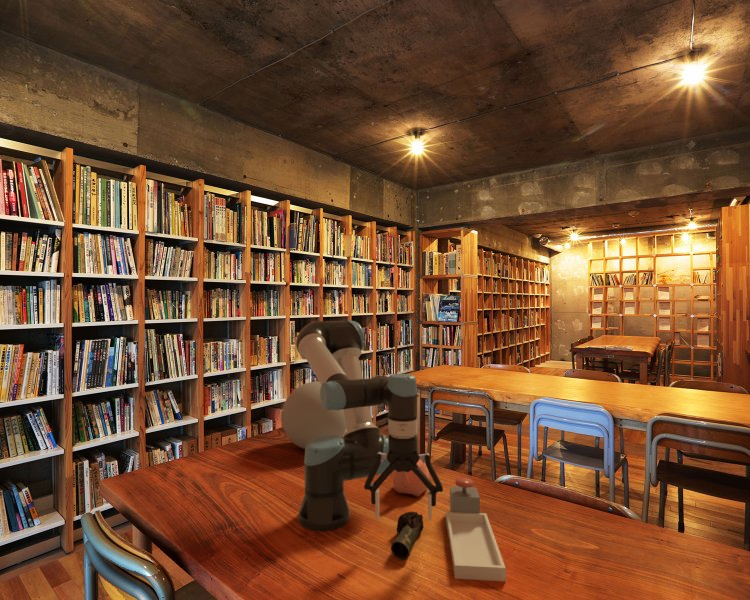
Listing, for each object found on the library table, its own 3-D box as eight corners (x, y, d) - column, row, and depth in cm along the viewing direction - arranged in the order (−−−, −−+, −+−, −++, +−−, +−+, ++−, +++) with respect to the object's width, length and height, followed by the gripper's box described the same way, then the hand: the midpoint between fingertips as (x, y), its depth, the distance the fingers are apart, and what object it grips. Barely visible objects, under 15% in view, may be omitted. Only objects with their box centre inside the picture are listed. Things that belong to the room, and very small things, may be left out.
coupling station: (454, 580, 98) (454, 532, 98) (444, 512, 130) (444, 475, 130) (505, 583, 97) (505, 534, 97) (482, 513, 129) (482, 477, 129)
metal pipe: (408, 562, 104) (409, 539, 104) (383, 556, 106) (383, 533, 106) (426, 529, 120) (426, 509, 120) (403, 524, 123) (404, 504, 123)
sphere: (271, 458, 177) (271, 387, 177) (296, 436, 206) (295, 375, 207) (340, 462, 172) (340, 389, 172) (355, 439, 201) (355, 377, 202)
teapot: (403, 478, 156) (403, 446, 156) (434, 483, 152) (434, 450, 152) (384, 501, 138) (384, 464, 138) (419, 508, 133) (419, 470, 133)
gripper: (353, 438, 106) (353, 522, 106) (452, 440, 104) (453, 526, 104) (357, 429, 114) (357, 508, 113) (450, 431, 112) (450, 511, 111)
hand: (403, 517), depth 109 cm, fingers open, 13 cm apart
